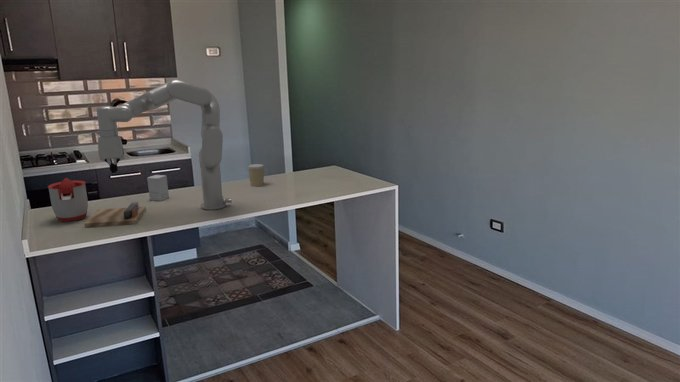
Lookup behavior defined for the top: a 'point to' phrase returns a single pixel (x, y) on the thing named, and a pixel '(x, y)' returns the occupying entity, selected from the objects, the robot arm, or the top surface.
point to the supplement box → (158, 187)
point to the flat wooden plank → (114, 217)
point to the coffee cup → (256, 175)
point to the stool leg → (130, 210)
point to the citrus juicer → (69, 200)
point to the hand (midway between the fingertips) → (114, 172)
